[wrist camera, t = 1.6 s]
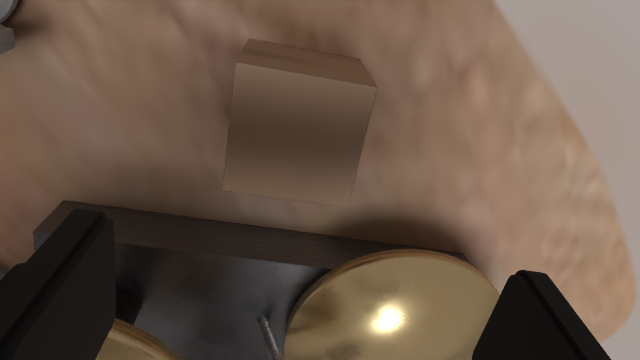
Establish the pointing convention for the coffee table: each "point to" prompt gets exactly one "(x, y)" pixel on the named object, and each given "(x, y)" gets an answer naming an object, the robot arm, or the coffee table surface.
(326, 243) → the balance
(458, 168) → the coffee table surface
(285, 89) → the walnut block
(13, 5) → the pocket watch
